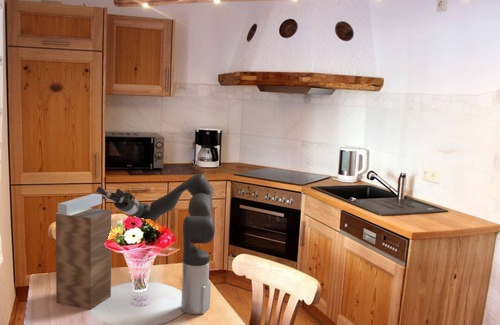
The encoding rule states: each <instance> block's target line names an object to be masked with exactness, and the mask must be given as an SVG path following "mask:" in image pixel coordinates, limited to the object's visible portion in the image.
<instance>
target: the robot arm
mask: <svg viewBox="0 0 500 325" xmlns="http://www.w3.org/2000/svg"><path fill="white" fill-rule="evenodd" d="M186 191H188V193H189V194H190V195H191V196H192V197H191V198H190V200H189V202H188V208H187V209H188V214H189V215H188V216H185V218H184V219H183V223H182V241H183V242H182V246H183V247H182V248H183V250H182V276H181V277H182V278H181V280H182V282H181V303H180V304H181V308H180V309H181V311H182V312H183V313H185V314H190V315H204V314H206V312H207V311H208V310H209V309H210V308H211V286H212V282H211V281H209V280H210V279H209V278H210V254H209V253H208V252H207V251H205V250H203V249H200V248H198V247H197V246H195V245H194V244H208V243H209V244H210V243H211V242H213V240H214V237H215V235H216V226H215V220H214V216H213V207H214V206H213V196H214V188H213V186H212V184H211V183H210V181H209V180H208V179H207V178H206V176H205V175H204V174H203V173H196V174H195V175H192V176H191V177H190V178H188V179H187V180H185V181H183V182H182V183H180V184H179V185H178V186H176V187H175V188H174V189H172V190H171V191H169V192H168V193H166V194H165V195H163V196H162V197H161V196H160V198H157V199H155V200H154V201H152V202H150V205H149V204H148V203H146V202H140V201H138V200H137V199H136V196H134V195H133V194H132V193H130V192H127V191H122V190H121V189H120V188H117V189H116V191H112V190H111V189H110V190H107V189H104V188H103V187H102V186H97V188H96V192H97V194H102V200H104V201H107V200H109V201H111V202H112V203H113V204H114V207H115V208H117V210H119V211H121V212H122V213H124V214H126V215H129V217H131V218H133V216H136V217H139V218H144V219H151V220H153V221H154V223H155V222H156V221H157V220H158V219H159V218H160V217H161V216H162V215H165V214H166V213H168V212H170V211H172V210H173V209H174V208H175V206H176V205H177V204H178V202H179V199H180V197H181V196H182V194H183V193H184V192H186Z"/></svg>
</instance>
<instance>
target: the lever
mask: <svg viewBox="0 0 500 325" xmlns="http://www.w3.org/2000/svg"><path fill="white" fill-rule="evenodd" d="M102 200H103V198H102V194H98V193H91V194H88V195H84V196H80V197H77V198H73V199H70V200H66V201H63V202H60V203H57V213H58V214H63V215H68V214H71V213H74V212H77V211H80V210H83V209H87V208H93V207H95V206H99V205H102V203H103V201H102Z"/></svg>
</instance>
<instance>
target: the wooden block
mask: <svg viewBox="0 0 500 325" xmlns="http://www.w3.org/2000/svg"><path fill="white" fill-rule="evenodd" d="M110 231H111V232H112V210H111V209H102V208H93V207H90V208H87V209H83V210H80V211H77V212H74V213H71V214H68V215H63V214H58V212H56V213H55V274H56V275H55V278H56V279H55V281H56V282H55V285H56V287H55V291H56V292H55V295H56V297H55V298H56V304H60V305H61V304H62V305H65V306H71V307H74V308H80V309H84V310H92V309H94V308H96V307H97V306H98V305H100V304H101V303H103V302H105V301H107V300H108V299H110V298H111V297H112V249H111V250H110V249H108V248H106V247H105V245H104V243H105V242H106V241H107V239H108V236H109V233H110Z"/></svg>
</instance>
